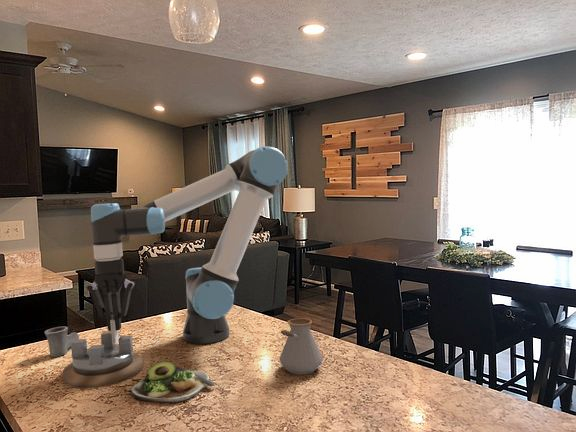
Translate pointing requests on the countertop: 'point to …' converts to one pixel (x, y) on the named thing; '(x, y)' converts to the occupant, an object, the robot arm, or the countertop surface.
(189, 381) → the salad plate
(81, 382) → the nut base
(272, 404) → the countertop surface
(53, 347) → the pipe
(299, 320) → the coffee pot
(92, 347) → the four-tab metal disc
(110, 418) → the countertop surface
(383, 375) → the countertop surface
